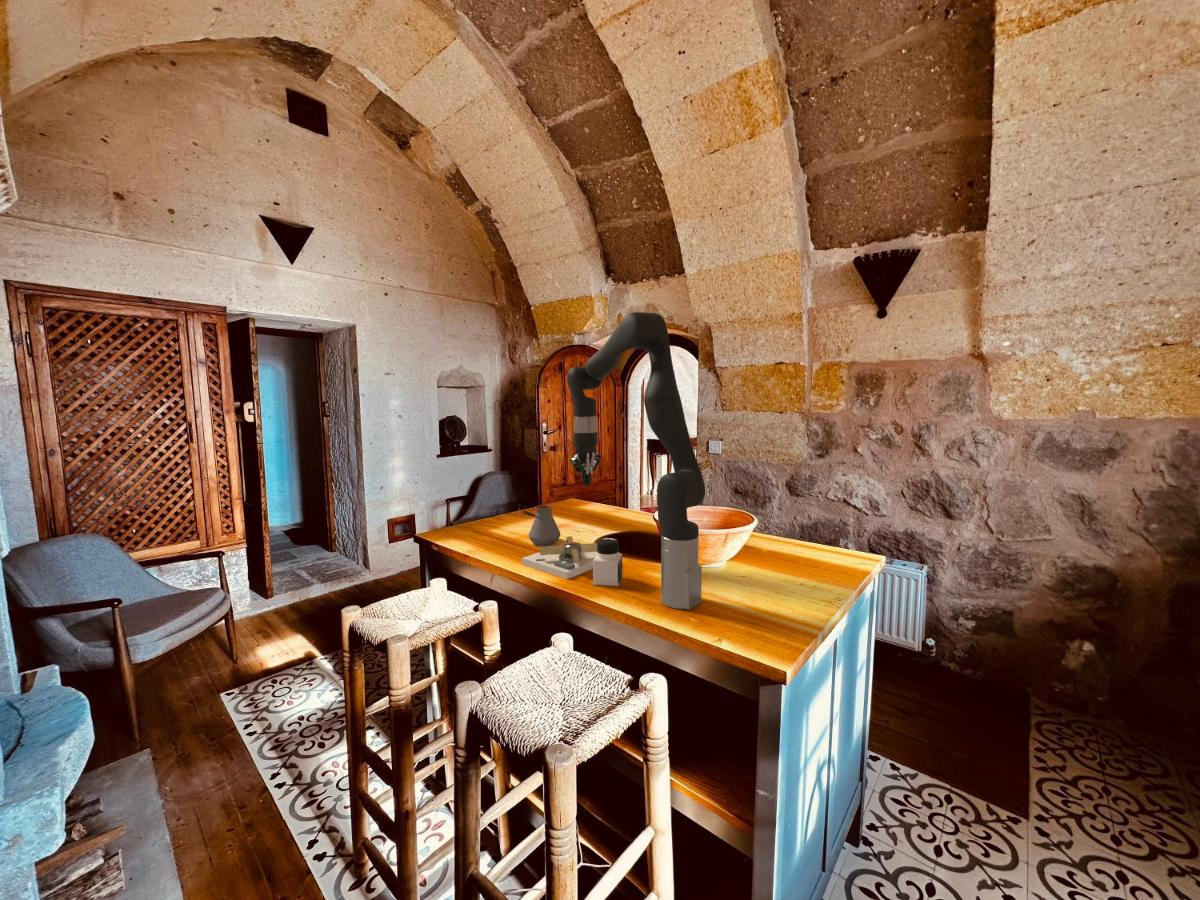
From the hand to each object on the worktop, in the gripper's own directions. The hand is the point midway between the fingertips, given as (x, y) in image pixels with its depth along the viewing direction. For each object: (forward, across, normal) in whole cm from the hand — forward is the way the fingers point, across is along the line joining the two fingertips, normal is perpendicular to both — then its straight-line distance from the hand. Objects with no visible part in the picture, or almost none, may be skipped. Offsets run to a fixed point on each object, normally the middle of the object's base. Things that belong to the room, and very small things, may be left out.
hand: (586, 485), depth 157 cm
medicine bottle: (+24, -11, -17) cm, 32 cm away
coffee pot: (+24, -1, +23) cm, 33 cm away
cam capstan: (+22, -8, 0) cm, 23 cm away
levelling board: (+24, -8, +3) cm, 25 cm away
